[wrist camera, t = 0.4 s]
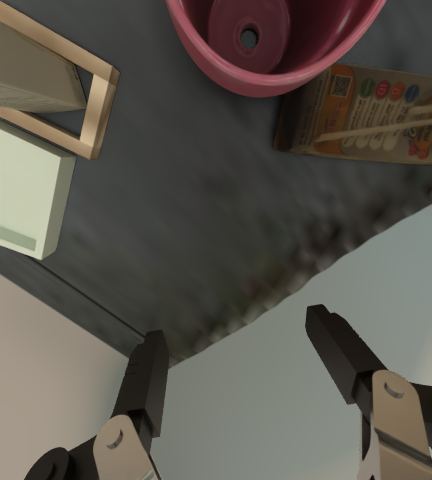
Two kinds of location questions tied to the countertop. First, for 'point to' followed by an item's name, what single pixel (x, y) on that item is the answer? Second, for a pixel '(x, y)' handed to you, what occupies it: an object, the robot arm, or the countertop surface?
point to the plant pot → (269, 39)
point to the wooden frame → (98, 97)
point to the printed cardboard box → (359, 116)
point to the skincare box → (36, 76)
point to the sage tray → (32, 192)
